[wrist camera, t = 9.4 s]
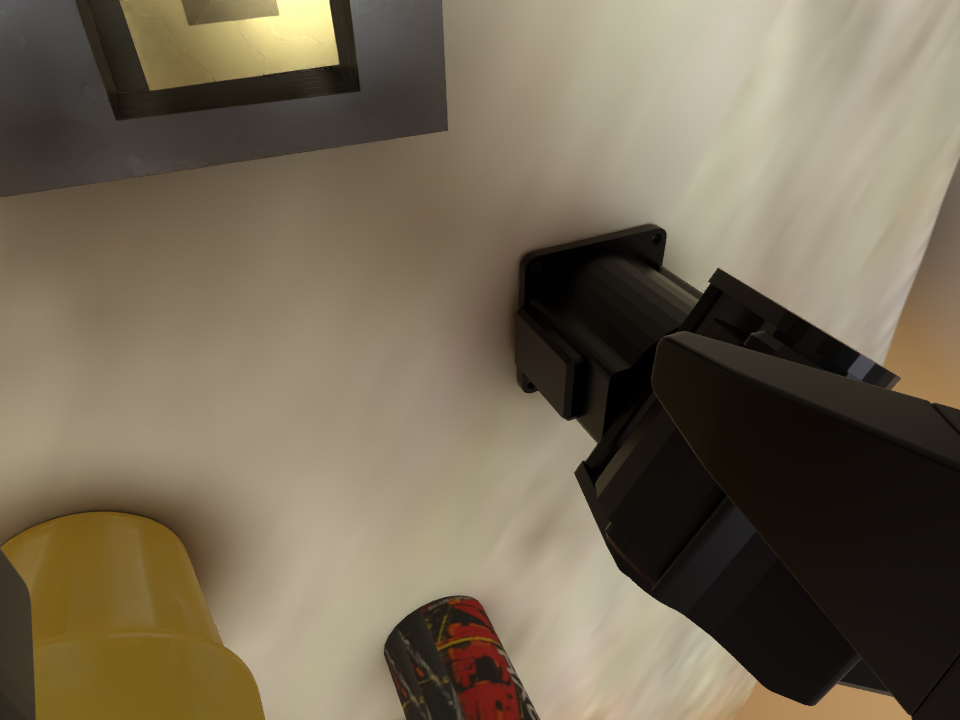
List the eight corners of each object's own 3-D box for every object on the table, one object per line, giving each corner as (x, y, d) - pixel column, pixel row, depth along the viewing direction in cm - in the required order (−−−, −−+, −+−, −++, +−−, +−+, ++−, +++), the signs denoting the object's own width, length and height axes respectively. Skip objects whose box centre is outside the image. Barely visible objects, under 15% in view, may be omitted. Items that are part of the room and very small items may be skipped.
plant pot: (-187, 561, 19) (-379, 959, 12) (158, 420, 21) (175, 681, 14) (26, 704, 26) (-13, 1017, 18) (274, 584, 28) (326, 821, 21)
